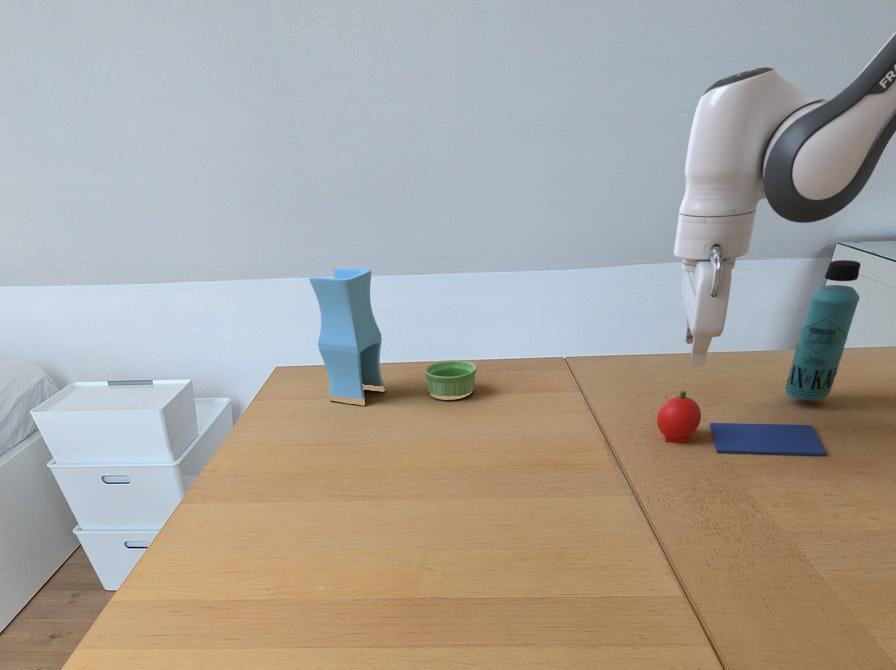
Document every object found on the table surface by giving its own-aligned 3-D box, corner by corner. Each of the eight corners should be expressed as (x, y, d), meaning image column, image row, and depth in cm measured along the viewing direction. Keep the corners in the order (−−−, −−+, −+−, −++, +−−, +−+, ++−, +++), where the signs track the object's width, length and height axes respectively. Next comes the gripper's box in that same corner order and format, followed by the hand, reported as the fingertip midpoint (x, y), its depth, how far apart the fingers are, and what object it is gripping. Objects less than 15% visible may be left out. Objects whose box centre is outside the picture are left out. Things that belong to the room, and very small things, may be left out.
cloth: (810, 427, 102) (811, 424, 102) (825, 456, 95) (826, 453, 95) (709, 425, 105) (710, 422, 105) (716, 453, 98) (717, 450, 98)
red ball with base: (695, 430, 104) (703, 384, 100) (698, 447, 100) (707, 400, 96) (653, 429, 106) (660, 384, 101) (654, 445, 101) (662, 399, 97)
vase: (350, 386, 130) (335, 267, 117) (386, 391, 126) (375, 269, 114) (326, 401, 124) (308, 278, 112) (363, 406, 121) (349, 280, 109)
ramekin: (469, 382, 127) (468, 357, 125) (483, 398, 120) (482, 372, 118) (421, 388, 126) (419, 363, 124) (432, 405, 119) (431, 379, 117)
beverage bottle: (779, 394, 113) (815, 256, 101) (825, 396, 111) (867, 256, 99) (783, 409, 108) (821, 266, 96) (830, 411, 107) (876, 266, 94)
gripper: (751, 254, 78) (727, 378, 87) (730, 222, 94) (711, 330, 102) (692, 256, 80) (674, 378, 88) (680, 225, 95) (666, 331, 104)
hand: (694, 352), depth 95 cm, fingers open, 8 cm apart
